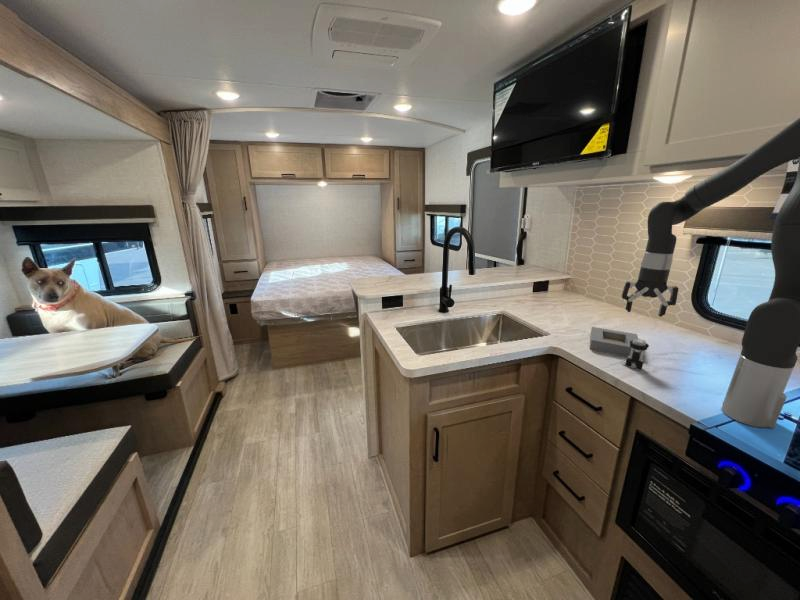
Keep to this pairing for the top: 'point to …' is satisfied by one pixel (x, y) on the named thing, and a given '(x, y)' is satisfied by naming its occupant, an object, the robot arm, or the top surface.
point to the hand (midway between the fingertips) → (644, 313)
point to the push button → (636, 353)
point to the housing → (611, 341)
